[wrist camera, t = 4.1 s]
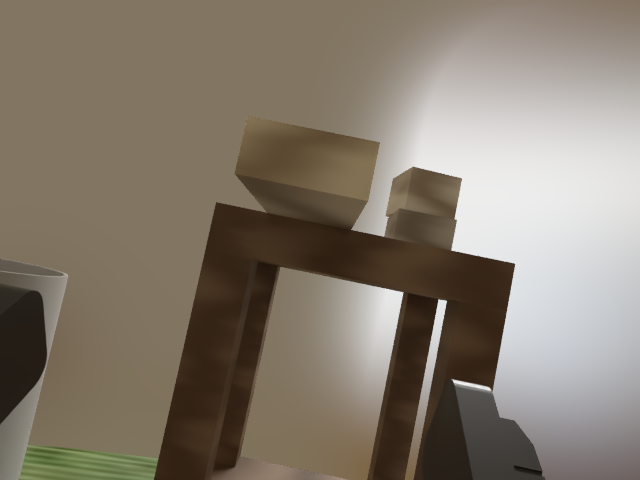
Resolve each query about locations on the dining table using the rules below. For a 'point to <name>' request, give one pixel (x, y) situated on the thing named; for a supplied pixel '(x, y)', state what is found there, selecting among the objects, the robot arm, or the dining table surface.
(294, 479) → the walnut rack
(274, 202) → the birch slat
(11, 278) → the cylinder vase
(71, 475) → the dining table surface
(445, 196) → the offcut stack
